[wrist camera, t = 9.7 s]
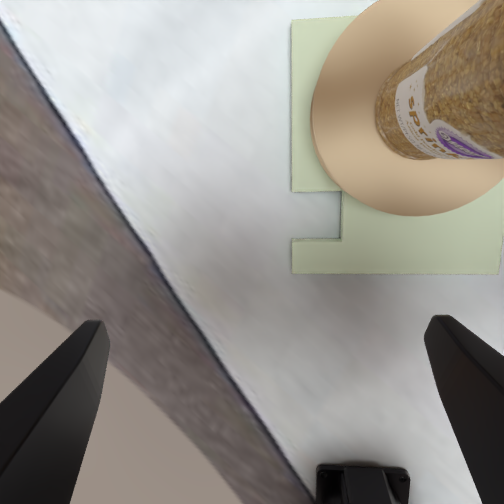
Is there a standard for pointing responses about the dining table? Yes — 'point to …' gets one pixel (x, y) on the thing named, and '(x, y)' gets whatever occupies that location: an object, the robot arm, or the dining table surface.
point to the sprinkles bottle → (450, 92)
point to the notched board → (367, 218)
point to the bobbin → (363, 113)
